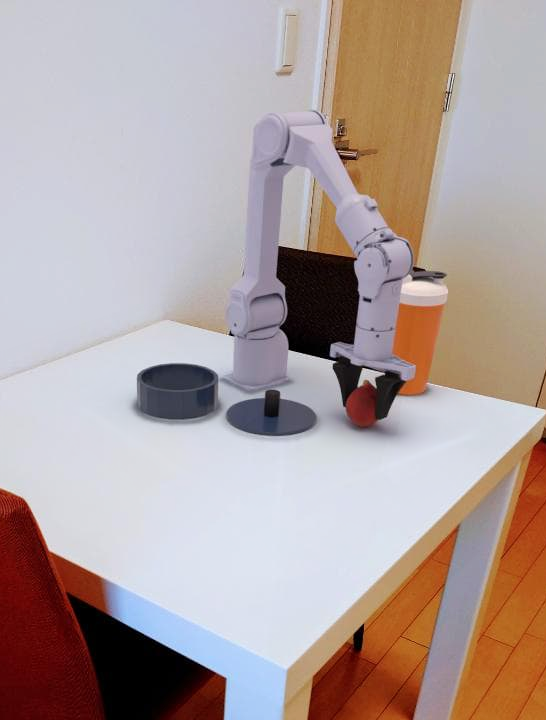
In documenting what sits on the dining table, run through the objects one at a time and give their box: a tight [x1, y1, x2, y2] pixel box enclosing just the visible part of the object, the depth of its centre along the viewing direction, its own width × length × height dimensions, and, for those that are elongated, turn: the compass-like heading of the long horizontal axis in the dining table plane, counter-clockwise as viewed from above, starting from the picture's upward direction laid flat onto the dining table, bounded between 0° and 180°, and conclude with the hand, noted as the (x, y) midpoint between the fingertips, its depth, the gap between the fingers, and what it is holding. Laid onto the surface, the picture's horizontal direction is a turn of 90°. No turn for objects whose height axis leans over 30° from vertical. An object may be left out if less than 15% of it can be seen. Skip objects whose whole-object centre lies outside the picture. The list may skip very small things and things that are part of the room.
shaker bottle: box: [392, 269, 449, 396], centre depth 138 cm, size 9×9×20 cm
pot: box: [136, 362, 219, 421], centre depth 134 cm, size 13×13×5 cm
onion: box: [345, 379, 379, 428], centre depth 126 cm, size 6×6×8 cm
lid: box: [226, 389, 317, 437], centre depth 129 cm, size 14×14×5 cm
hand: (364, 411), depth 127 cm, fingers closed on onion, 6 cm apart
